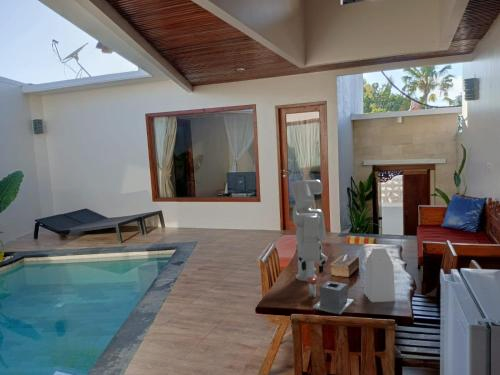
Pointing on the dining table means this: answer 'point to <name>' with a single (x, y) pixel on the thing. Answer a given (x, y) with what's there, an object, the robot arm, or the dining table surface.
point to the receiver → (333, 298)
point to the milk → (379, 276)
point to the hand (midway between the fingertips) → (312, 271)
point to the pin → (312, 285)
